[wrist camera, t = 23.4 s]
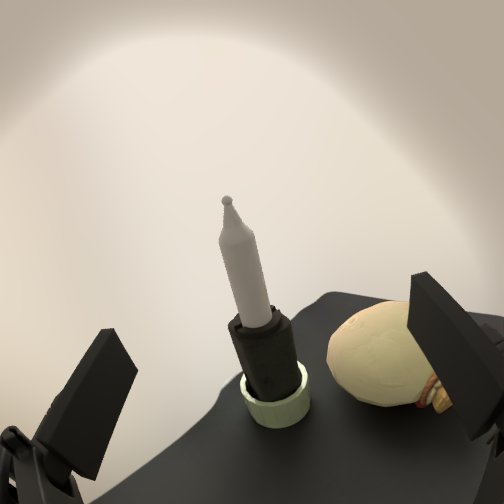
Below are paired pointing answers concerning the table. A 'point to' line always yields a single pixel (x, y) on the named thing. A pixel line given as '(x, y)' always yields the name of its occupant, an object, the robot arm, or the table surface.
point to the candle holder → (279, 404)
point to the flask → (384, 360)
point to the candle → (256, 316)
